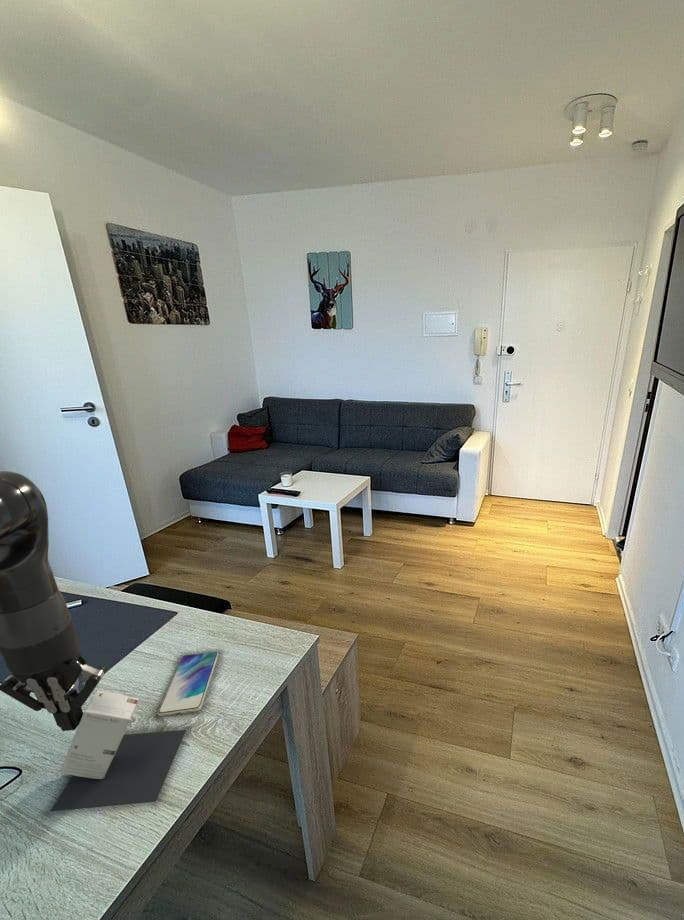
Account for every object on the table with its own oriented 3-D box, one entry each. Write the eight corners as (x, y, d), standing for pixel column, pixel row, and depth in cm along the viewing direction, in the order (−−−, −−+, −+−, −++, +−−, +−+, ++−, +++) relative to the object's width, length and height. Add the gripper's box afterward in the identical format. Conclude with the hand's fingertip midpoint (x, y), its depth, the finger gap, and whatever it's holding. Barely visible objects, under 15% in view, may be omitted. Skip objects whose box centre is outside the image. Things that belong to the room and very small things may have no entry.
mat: (50, 813, 60) (49, 811, 60) (98, 738, 71) (97, 736, 71) (156, 803, 61) (155, 801, 61) (186, 731, 72) (186, 729, 72)
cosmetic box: (57, 774, 62) (80, 712, 59) (73, 747, 66) (95, 687, 63) (105, 780, 64) (129, 721, 61) (117, 753, 68) (140, 696, 65)
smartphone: (155, 714, 74) (181, 655, 88) (157, 718, 75) (182, 658, 88) (200, 708, 76) (219, 650, 89) (201, 712, 76) (219, 654, 90)
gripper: (104, 606, 60) (133, 701, 66) (0, 612, 58) (40, 708, 65) (71, 642, 53) (107, 744, 59) (-47, 650, 51) (3, 753, 58)
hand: (72, 725), depth 62 cm, fingers closed
